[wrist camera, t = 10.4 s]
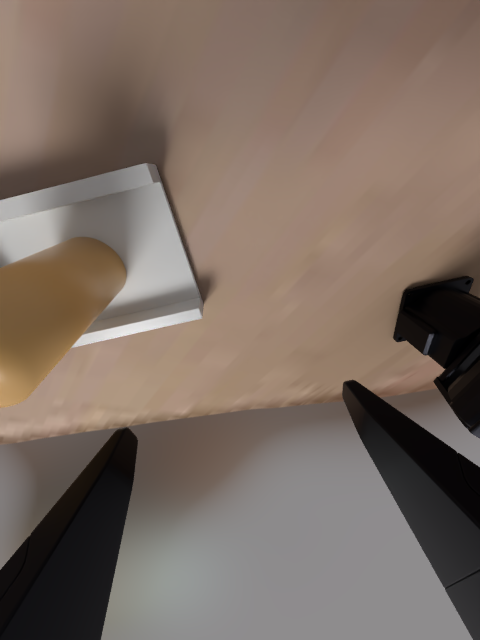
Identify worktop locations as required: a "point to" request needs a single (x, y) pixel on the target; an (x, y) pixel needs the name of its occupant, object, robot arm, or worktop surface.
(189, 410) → the worktop surface
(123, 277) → the yellow orange cylinder
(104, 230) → the shallow white tray
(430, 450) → the robot arm
